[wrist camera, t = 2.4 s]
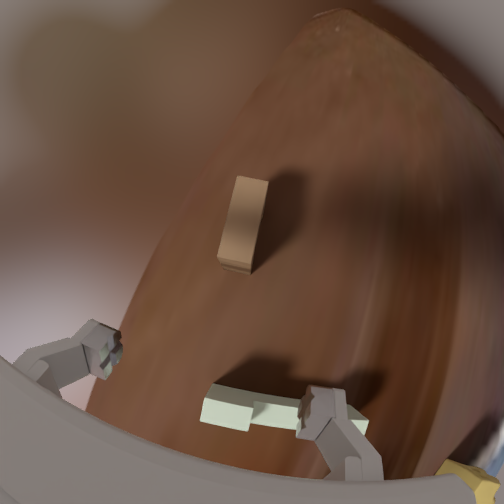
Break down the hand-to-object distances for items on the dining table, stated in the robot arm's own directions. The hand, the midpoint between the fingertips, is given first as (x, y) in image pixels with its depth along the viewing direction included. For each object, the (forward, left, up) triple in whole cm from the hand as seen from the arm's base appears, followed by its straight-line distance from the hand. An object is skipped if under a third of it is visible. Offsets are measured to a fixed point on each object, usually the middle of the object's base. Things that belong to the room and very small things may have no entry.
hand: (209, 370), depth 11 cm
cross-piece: (+1, -11, -20) cm, 23 cm away
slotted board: (-7, +7, -20) cm, 22 cm away
